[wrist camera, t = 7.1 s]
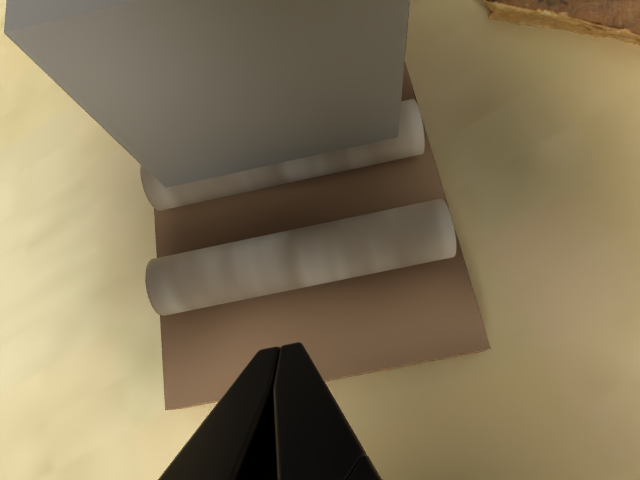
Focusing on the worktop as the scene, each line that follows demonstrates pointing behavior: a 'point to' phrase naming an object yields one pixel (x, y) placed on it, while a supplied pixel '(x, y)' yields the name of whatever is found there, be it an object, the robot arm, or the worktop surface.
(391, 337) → the roller bed
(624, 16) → the shard
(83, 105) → the gray rectangular block
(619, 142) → the worktop surface
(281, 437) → the robot arm
